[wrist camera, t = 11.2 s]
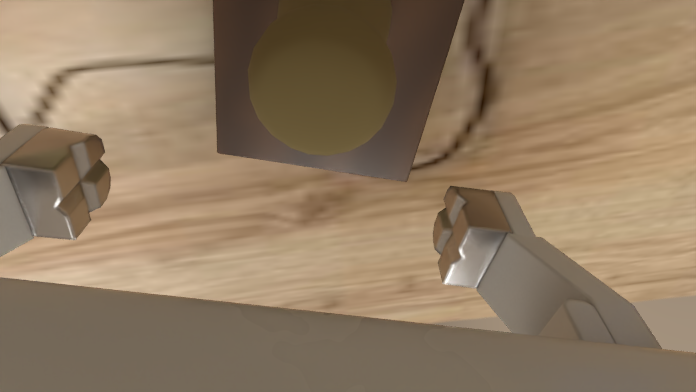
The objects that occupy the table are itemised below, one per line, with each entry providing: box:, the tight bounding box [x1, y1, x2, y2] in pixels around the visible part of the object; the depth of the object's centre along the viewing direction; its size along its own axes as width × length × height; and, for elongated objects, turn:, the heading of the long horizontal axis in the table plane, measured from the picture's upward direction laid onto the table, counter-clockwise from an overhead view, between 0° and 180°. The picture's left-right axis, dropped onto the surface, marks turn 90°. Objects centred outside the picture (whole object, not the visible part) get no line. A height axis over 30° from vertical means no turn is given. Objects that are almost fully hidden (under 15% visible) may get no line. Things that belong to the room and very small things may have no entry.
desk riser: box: [213, 0, 464, 182], centre depth 24 cm, size 13×20×4 cm, turn 170°
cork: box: [248, 0, 397, 156], centre depth 18 cm, size 6×6×11 cm
